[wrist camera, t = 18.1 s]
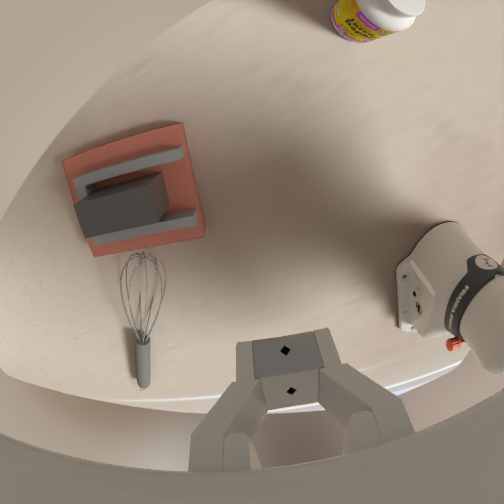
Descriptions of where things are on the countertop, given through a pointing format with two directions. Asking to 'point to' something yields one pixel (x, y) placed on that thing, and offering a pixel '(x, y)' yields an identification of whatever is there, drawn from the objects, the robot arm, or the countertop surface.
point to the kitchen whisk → (141, 339)
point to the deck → (137, 165)
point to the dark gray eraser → (123, 205)
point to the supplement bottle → (373, 17)
